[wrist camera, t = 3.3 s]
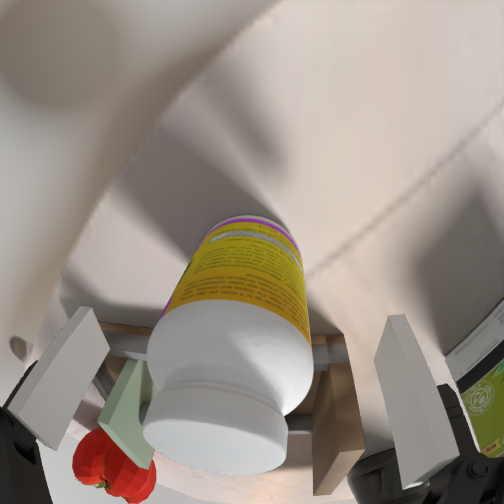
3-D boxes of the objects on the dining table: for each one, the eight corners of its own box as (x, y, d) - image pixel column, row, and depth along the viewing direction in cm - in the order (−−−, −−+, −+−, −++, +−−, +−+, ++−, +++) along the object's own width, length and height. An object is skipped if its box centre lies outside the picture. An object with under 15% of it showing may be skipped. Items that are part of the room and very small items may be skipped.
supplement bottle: (197, 209, 17) (79, 371, 6) (306, 215, 17) (347, 408, 5) (202, 298, 20) (142, 464, 9) (295, 305, 20) (299, 485, 8)
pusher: (189, 353, 21) (161, 438, 14) (206, 410, 25) (190, 478, 18) (134, 346, 22) (96, 421, 15) (160, 403, 26) (138, 467, 19)
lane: (343, 334, 21) (365, 449, 12) (324, 409, 26) (330, 494, 17) (84, 319, 23) (29, 396, 14) (120, 391, 28) (90, 459, 19)
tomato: (85, 428, 37) (63, 476, 27) (97, 406, 31) (67, 470, 21) (148, 461, 40) (133, 510, 29) (177, 447, 34) (160, 512, 24)
